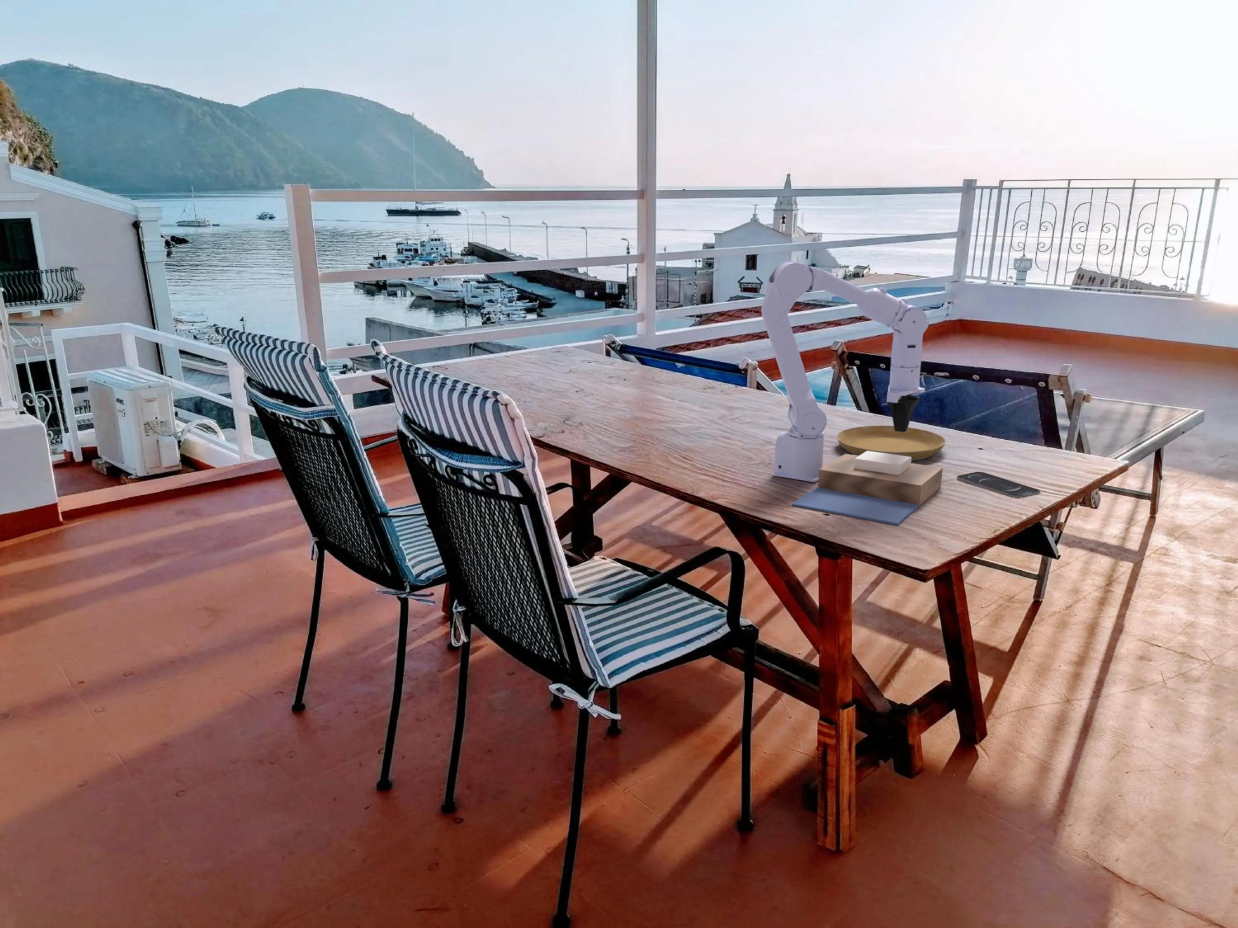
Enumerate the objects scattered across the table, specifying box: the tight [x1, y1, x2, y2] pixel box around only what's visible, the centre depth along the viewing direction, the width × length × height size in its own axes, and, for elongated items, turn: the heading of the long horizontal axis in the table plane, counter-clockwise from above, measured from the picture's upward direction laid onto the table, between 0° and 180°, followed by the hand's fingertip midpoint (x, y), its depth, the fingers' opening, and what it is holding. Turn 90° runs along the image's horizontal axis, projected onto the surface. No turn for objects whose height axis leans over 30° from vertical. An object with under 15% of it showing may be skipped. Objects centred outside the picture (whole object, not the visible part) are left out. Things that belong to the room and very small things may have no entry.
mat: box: [791, 486, 920, 526], centre depth 157 cm, size 20×12×1 cm, turn 54°
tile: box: [854, 451, 912, 475], centre depth 167 cm, size 9×7×2 cm
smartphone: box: [956, 471, 1041, 499], centre depth 167 cm, size 8×1×15 cm
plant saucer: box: [836, 425, 947, 462], centre depth 195 cm, size 24×24×3 cm
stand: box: [817, 453, 944, 507], centre depth 167 cm, size 20×14×4 cm
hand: (900, 431), depth 173 cm, fingers closed
